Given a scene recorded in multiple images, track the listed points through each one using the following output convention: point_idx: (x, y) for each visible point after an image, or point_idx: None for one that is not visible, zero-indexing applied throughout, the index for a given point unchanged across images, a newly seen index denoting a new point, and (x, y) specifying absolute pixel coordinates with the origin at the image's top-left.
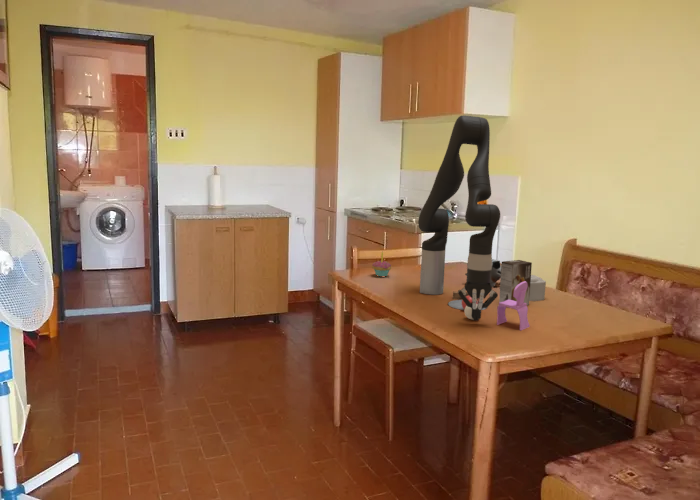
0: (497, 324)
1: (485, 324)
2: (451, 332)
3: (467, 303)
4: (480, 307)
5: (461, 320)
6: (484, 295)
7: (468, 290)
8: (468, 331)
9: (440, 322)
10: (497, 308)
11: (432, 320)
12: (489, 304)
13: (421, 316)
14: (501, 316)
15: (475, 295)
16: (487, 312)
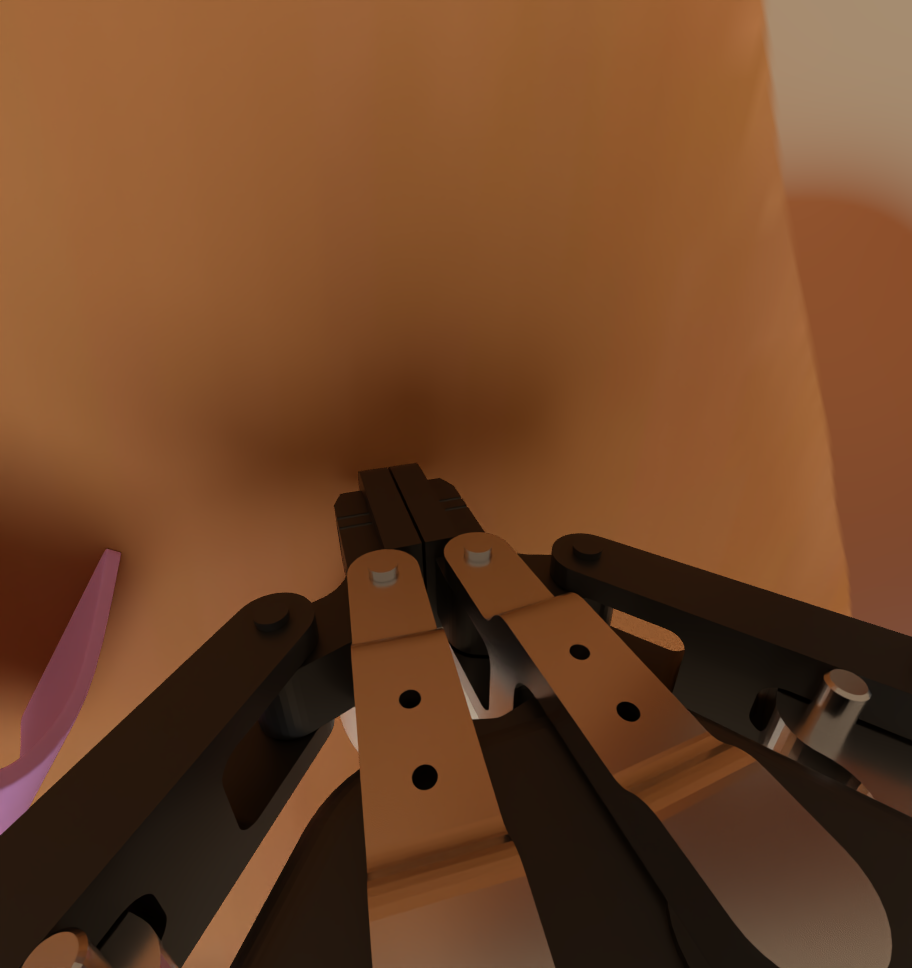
0: (109, 551)
1: (264, 510)
2: (690, 32)
3: (629, 564)
4: (374, 570)
5: (512, 544)
6: (340, 864)
7: (880, 829)
8: (474, 136)
9: (704, 416)
10: (53, 741)
11: (750, 451)
12: (181, 673)
13: (793, 521)
14: (53, 700)
15: (614, 733)
16: (279, 829)
